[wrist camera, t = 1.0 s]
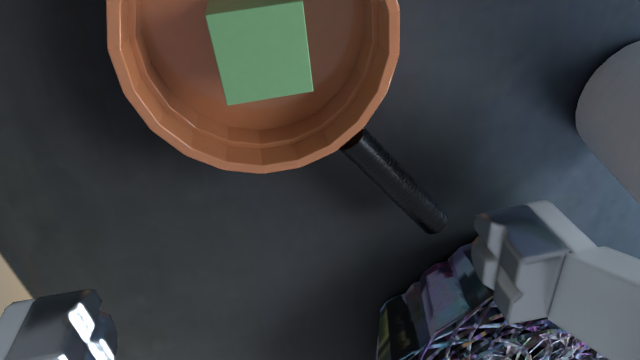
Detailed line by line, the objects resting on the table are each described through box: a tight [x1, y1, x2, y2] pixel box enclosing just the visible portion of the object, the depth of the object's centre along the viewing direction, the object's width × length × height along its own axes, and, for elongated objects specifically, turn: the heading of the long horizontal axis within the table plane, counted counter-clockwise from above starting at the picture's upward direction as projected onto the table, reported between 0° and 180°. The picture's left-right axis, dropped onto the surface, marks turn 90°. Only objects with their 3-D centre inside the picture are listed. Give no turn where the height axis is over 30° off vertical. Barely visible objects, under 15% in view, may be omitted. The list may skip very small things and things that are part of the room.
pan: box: [106, 0, 400, 174], centre depth 23 cm, size 14×14×4 cm
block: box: [205, 0, 313, 106], centre depth 23 cm, size 4×4×4 cm
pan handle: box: [339, 127, 448, 234], centre depth 29 cm, size 10×2×2 cm, turn 41°
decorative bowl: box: [375, 243, 609, 360], centre depth 40 cm, size 26×28×10 cm
